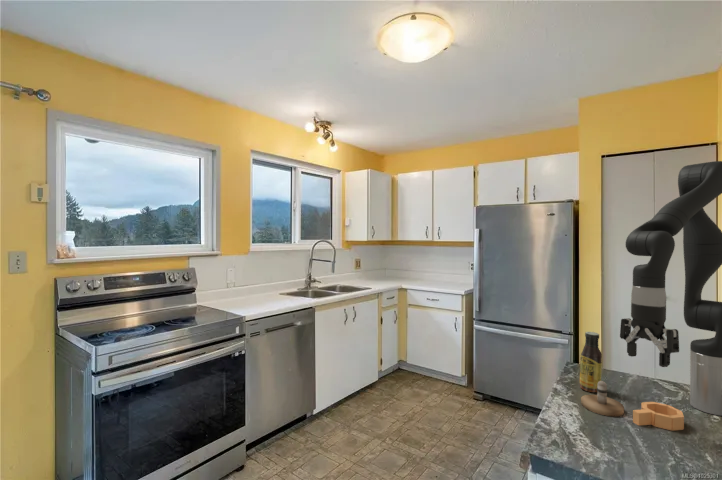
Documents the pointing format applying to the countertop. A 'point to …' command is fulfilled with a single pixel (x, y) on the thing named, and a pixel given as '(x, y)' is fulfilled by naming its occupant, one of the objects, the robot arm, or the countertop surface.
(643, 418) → the ring
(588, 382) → the sauce bottle
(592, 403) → the round wooden base
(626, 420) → the countertop surface
